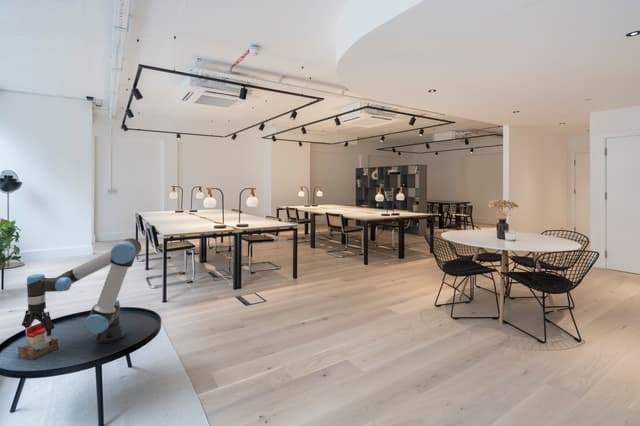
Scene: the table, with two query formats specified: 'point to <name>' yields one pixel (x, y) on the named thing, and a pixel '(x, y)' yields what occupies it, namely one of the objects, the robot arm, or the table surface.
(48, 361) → the table surface
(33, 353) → the wooden crate
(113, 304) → the robot arm
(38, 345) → the red white carton
